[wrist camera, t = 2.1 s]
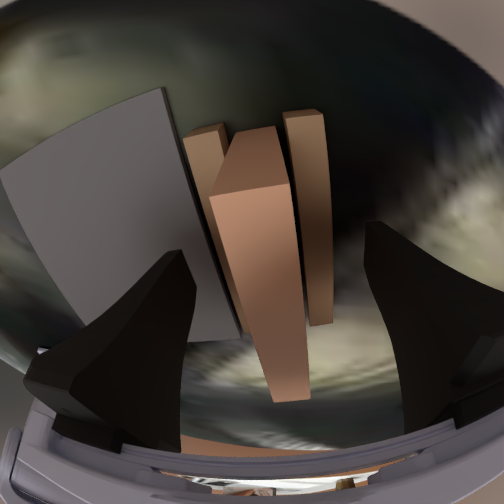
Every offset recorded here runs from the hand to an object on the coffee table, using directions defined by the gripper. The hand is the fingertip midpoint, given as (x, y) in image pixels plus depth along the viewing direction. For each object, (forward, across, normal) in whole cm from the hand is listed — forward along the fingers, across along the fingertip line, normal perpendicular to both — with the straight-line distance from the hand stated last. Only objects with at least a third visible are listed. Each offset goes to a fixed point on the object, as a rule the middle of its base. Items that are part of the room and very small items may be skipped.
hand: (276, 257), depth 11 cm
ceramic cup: (+2, -15, +116) cm, 117 cm away
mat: (+2, +8, 0) cm, 9 cm away
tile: (+2, 0, 0) cm, 2 cm away
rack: (+2, 0, 0) cm, 2 cm away
